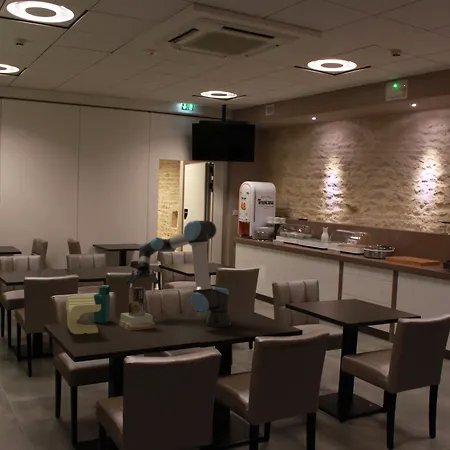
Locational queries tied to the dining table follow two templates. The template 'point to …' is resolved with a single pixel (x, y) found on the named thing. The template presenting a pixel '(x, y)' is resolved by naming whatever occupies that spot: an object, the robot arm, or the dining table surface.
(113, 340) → the dining table surface
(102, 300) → the green bottle
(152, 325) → the tower base
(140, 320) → the white flat square block
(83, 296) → the slatted curved stool
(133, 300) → the coffee box
